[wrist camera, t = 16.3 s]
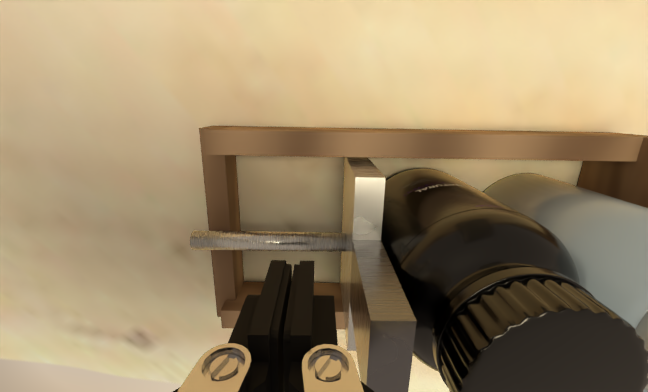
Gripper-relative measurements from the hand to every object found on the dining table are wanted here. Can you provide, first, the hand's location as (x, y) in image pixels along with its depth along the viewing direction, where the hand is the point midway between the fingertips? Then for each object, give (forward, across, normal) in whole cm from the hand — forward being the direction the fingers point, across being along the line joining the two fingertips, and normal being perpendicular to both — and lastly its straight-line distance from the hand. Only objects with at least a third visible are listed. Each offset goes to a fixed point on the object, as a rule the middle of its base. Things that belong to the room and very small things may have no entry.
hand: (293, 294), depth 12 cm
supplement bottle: (+8, -7, 0) cm, 10 cm away
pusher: (+8, +1, 0) cm, 8 cm away
